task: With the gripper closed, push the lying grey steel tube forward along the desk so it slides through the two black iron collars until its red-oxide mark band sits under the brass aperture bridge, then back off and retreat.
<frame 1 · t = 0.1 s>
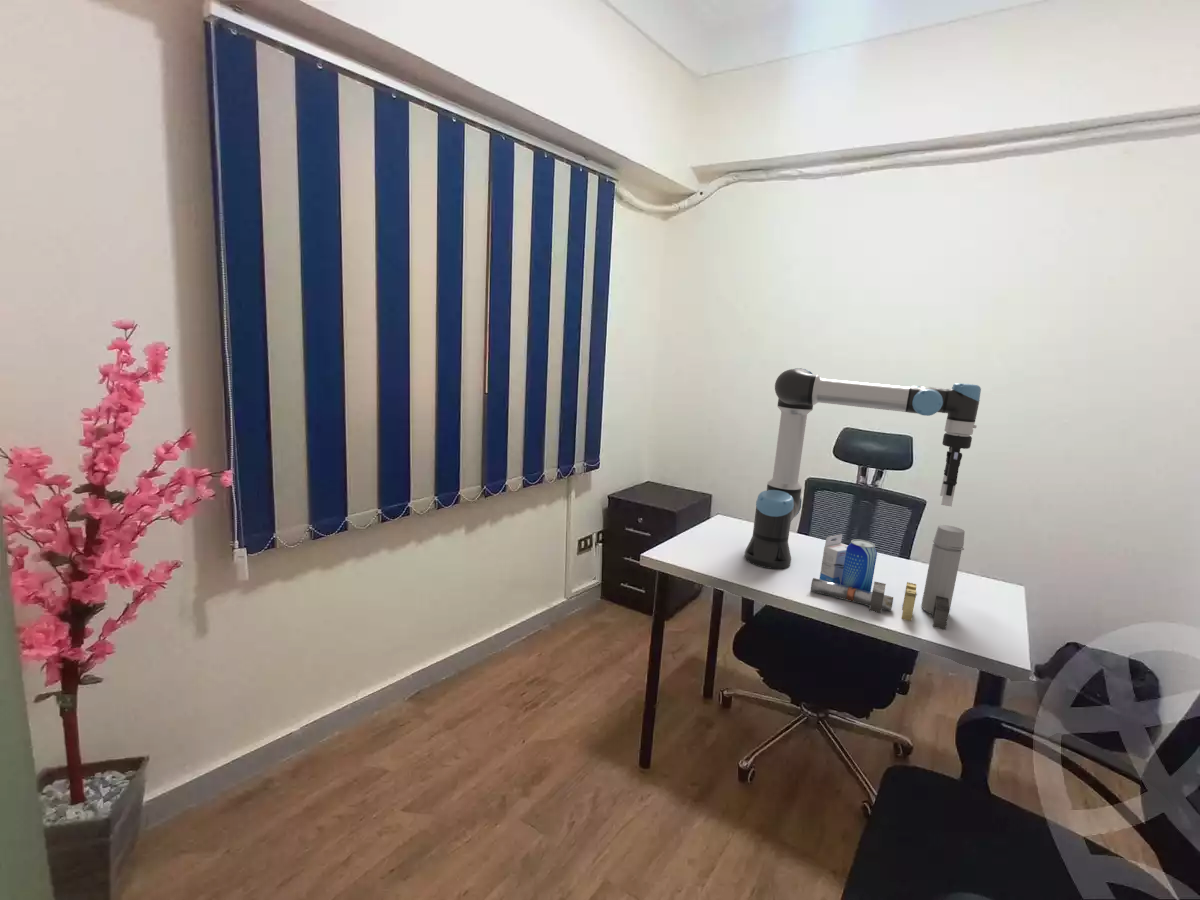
hand: (945, 500, 187), 28 cm above the table, fingers open, 13 cm apart
beer can: (854, 593, 181), on the table
water bottle: (936, 611, 173), on the table
tube: (850, 600, 176), on the table
ink box: (833, 582, 189), on the table
collar 2: (938, 622, 165), on the table
collar 1: (875, 606, 172), on the table
aperture bridge: (906, 614, 169), on the table
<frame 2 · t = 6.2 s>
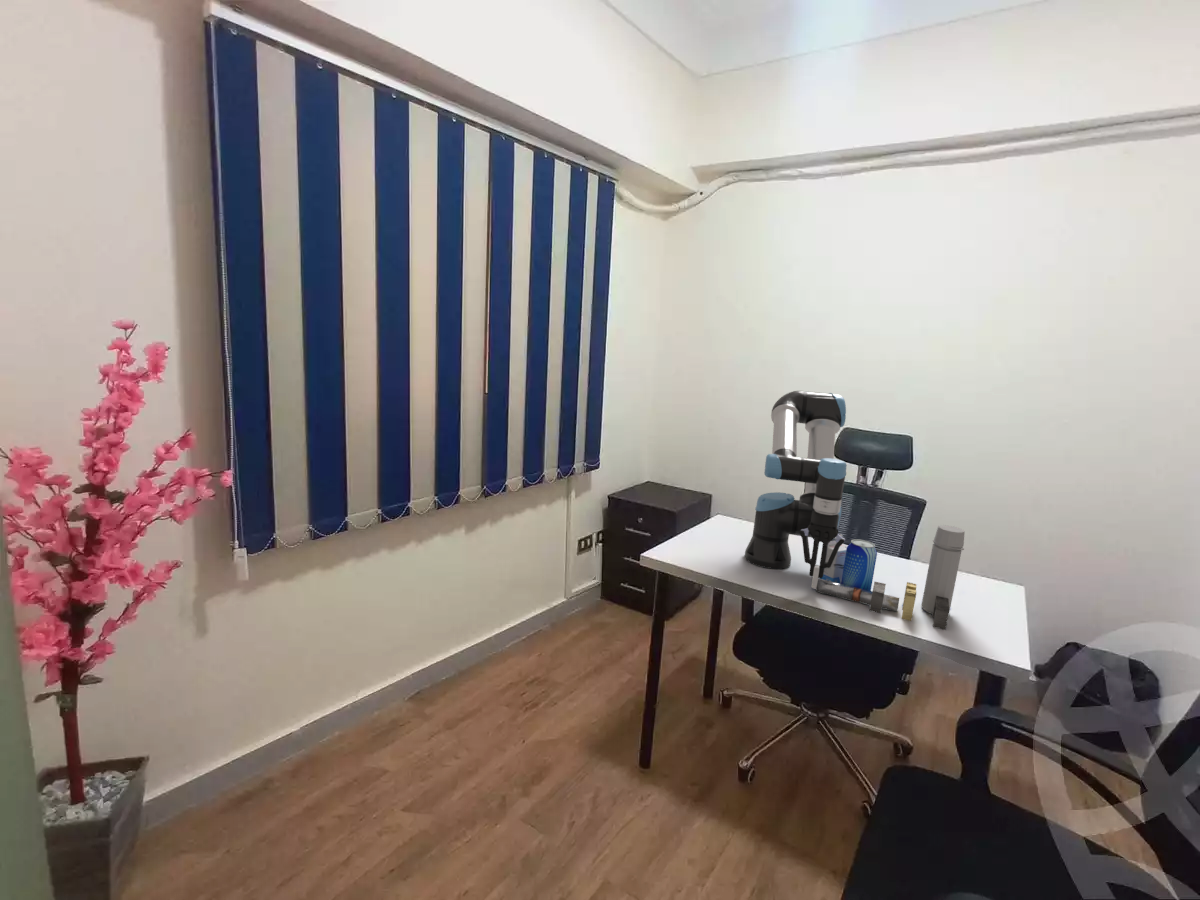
hand: (814, 586, 179), 2 cm above the table, fingers closed
tube: (855, 601, 175), on the table, tilted 17°, touching gripper
everything else where it was.
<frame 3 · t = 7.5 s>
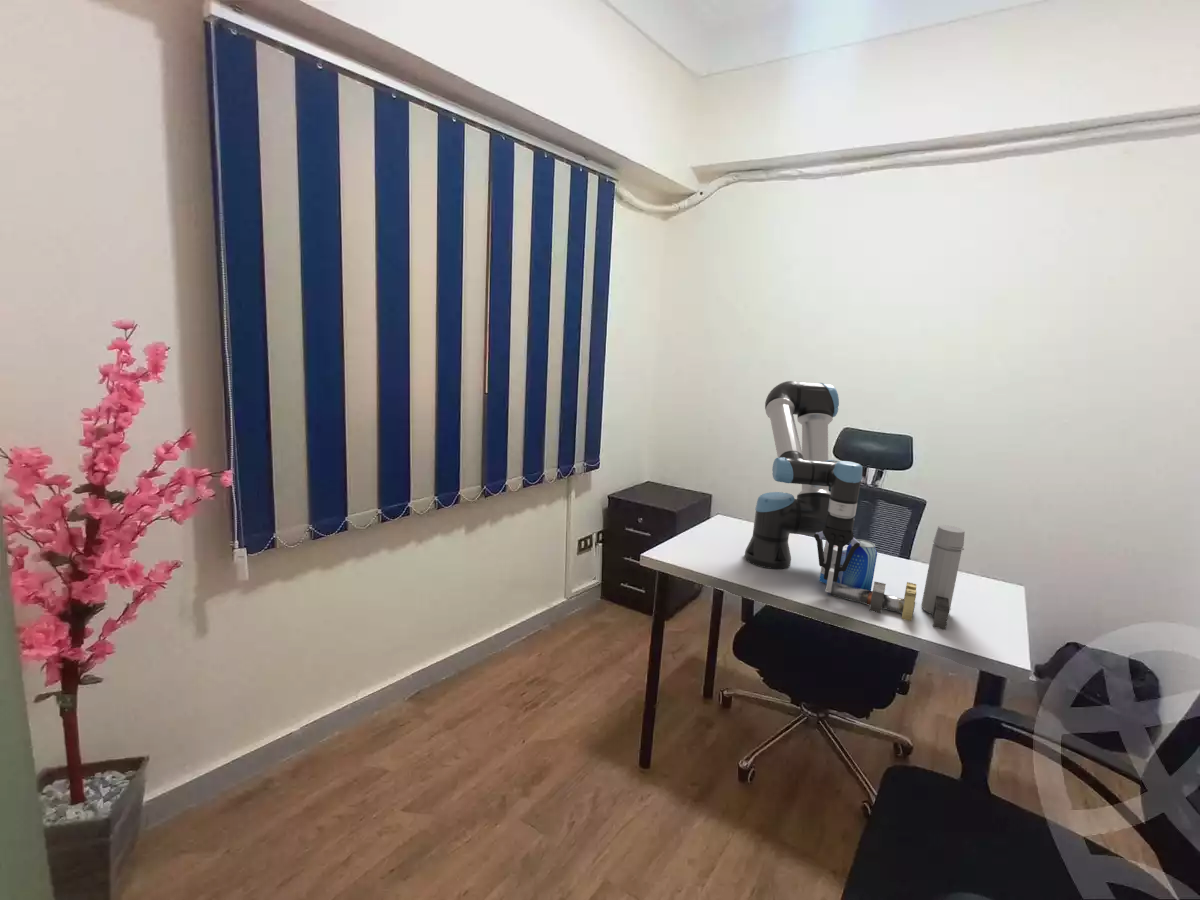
hand: (828, 590, 178), 1 cm above the table, fingers closed
tube: (870, 605, 173), on the table, tilted 15°, touching collar 1, gripper
everything else where it was.
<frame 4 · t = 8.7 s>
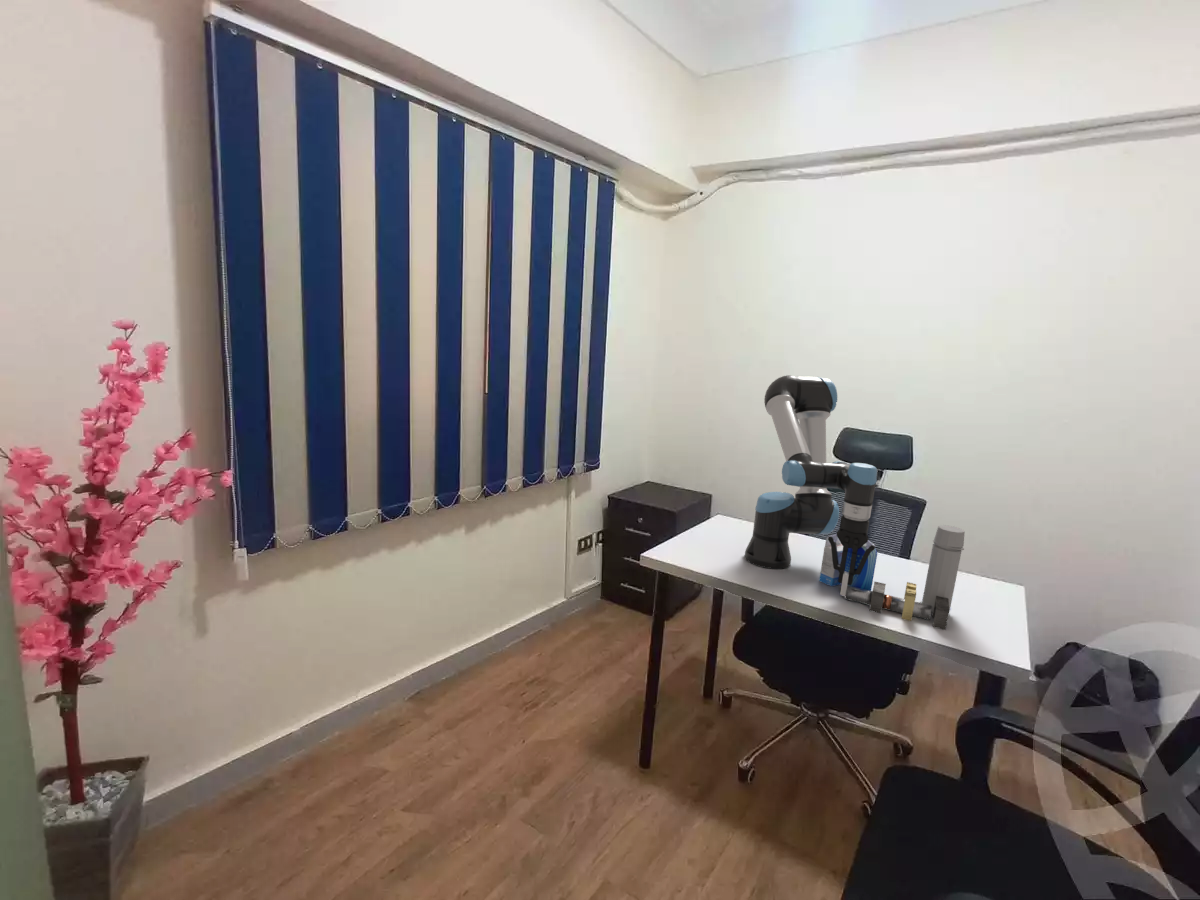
hand: (843, 593, 176), 2 cm above the table, fingers closed
tube: (885, 609, 171), on the table, tilted 16°, touching gripper
everything else where it was.
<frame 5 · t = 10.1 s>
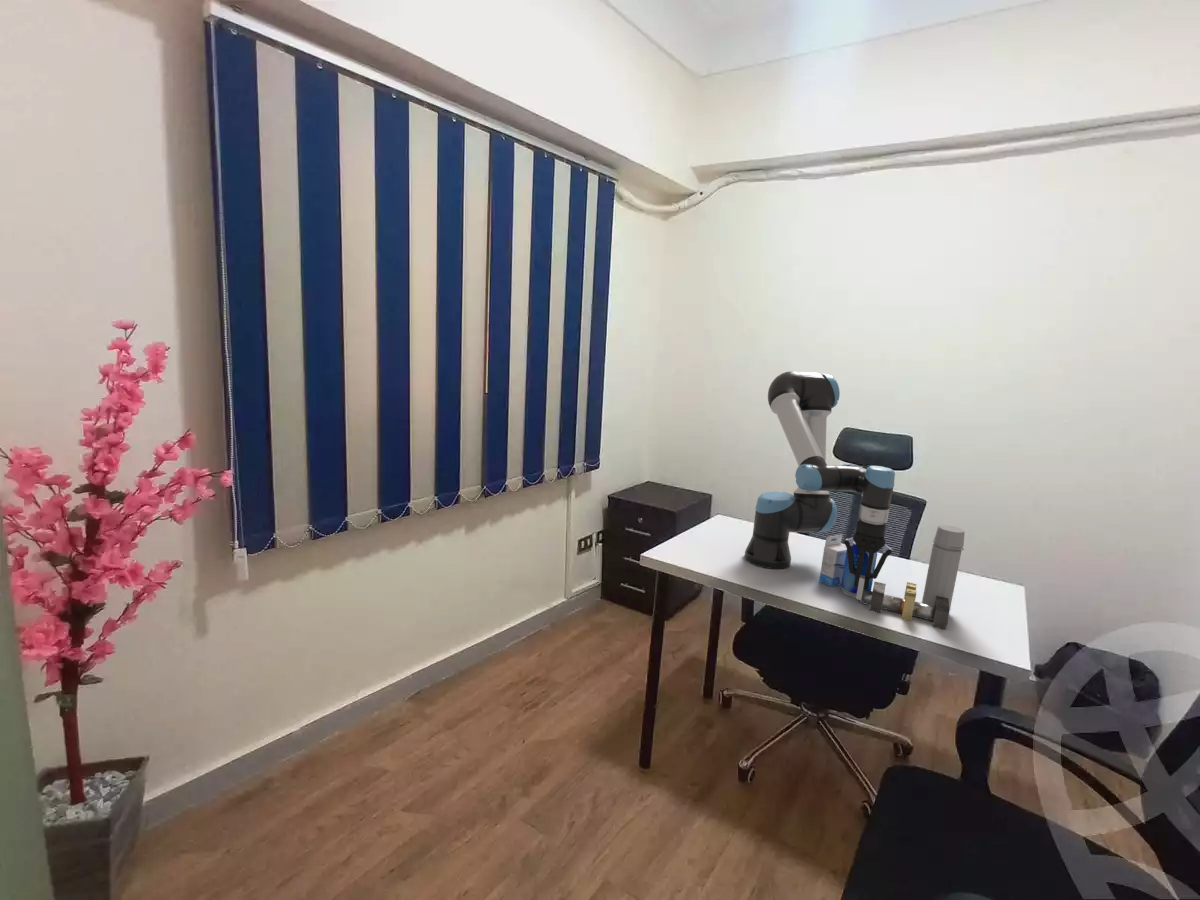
hand: (859, 597, 174), 1 cm above the table, fingers closed
tube: (902, 613, 169), on the table, tilted 15°, touching gripper
everything else where it was.
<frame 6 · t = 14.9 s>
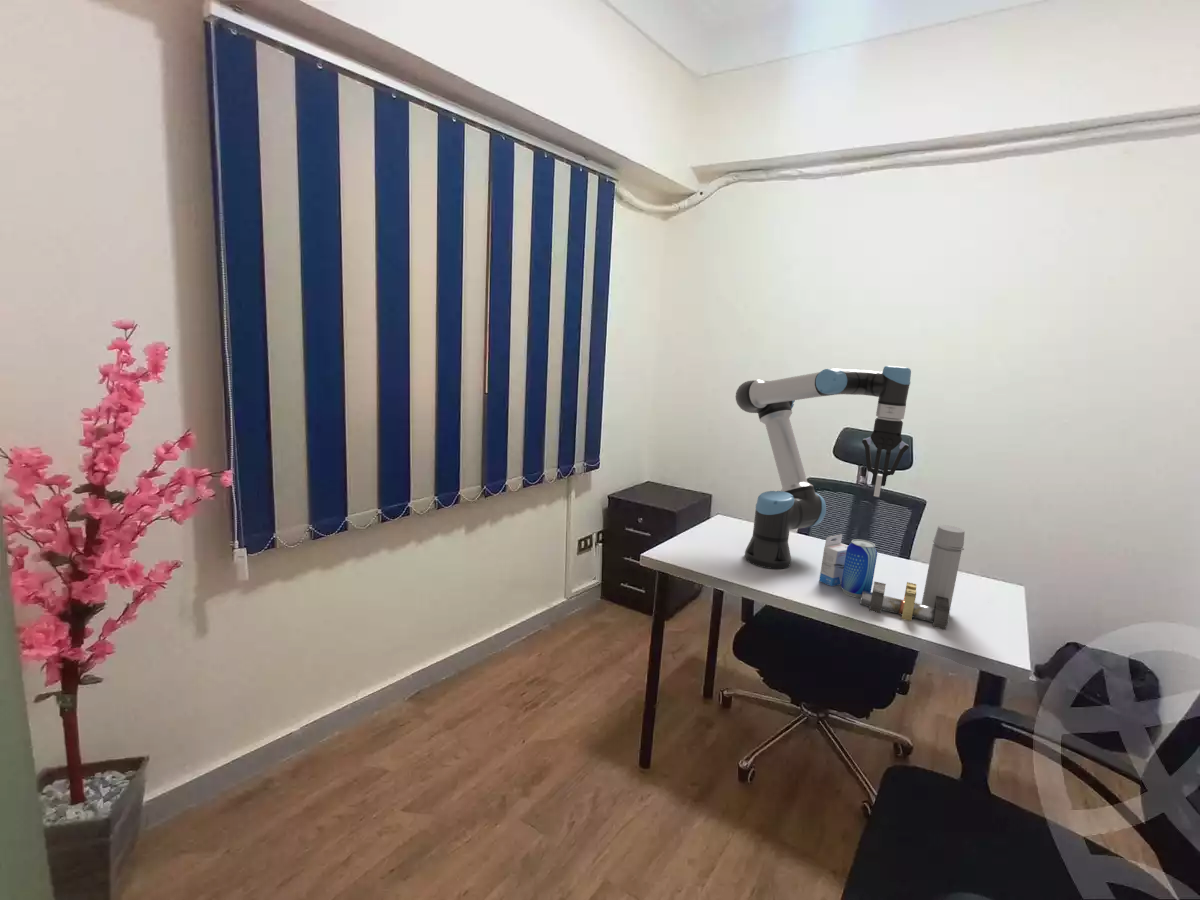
hand: (876, 495, 181), 29 cm above the table, fingers closed
tube: (902, 613, 169), on the table, tilted 17°
everything else where it was.
at the end: tube 1.1 cm off-centre on the aperture bridge, point 0.1 cm above the aperture bridge's base; tube 0.6 cm from the target spot, on the table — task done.
